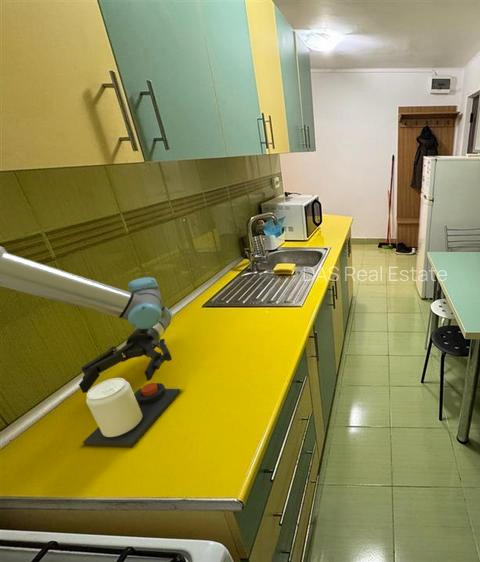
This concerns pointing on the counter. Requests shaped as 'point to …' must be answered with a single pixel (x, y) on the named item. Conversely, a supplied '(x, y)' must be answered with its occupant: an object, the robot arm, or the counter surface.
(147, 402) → the warming base
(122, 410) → the beverage can
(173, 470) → the counter surface
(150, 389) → the button
